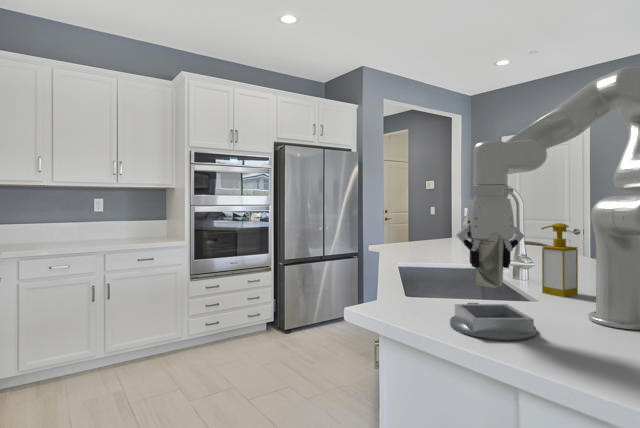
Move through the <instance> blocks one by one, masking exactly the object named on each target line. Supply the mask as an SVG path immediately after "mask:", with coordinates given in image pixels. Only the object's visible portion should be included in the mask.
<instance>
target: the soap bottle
mask: <svg viewBox="0 0 640 428" xmlns="http://www.w3.org/2000/svg"><path fill="white" fill-rule="evenodd" d="M548 228H552V232H556V238H553V239H552V241H553V243H552V245H545V246H542V248H541V255H542V257H541V267H542V268H541V269H542V270H541V271H542V272H541V274H542V275H541V277H542V278H541V280H542V282H541V285H542V287H541V288H542V291H541V292H542V294H546V295H551V296H555V297H556V296H557V297H561V298H569V297H573V296H578V295H579V293H578V292H579V291H578V290H579V289H578V288H579V284H578V282H579V280H578V279H579V278H578V276H579V275H578V274H579V272H578V271H579V270H578V269H579V267H578V266H579V264H578V262H579V260H578V259H579V258H578V255H579V254H578V253H579V252H578V248H579V247H577V246H567V239H566V238H563V233H564V232H567V228H570V226H569V225H568V224H565V223H562V222H556V223H554V224H552V225H546V226H543V227H541V230H544V229H548Z"/></svg>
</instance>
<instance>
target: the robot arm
mask: <svg viewBox="0 0 640 428" xmlns="http://www.w3.org/2000/svg"><path fill="white" fill-rule="evenodd" d="M614 110H617V113H618V115H619V116H620V118H621V119H622V121H623V123H624V125H625V126H626V128H627V131H628V139H627V142H626V145H625V148H624V150H623V152H622V154H621V157H620V159H619V162H618V164H617V167H616V169H615V171H614V174H613V179H612V181H613V185H614V187H615V188H616V189H617V190H618V191H619V192H622V193H626V194H627V195H625V194H624V195H613V196H612V195H611V196H606V197H603V198H601V199H600V200H598V201H597V202H596V203H595V204H594V205H593V207H592V209H591V213H590V221H591V225H592V228H593V233H594V240H595V310H594V311H591V312H589V313H588V319H589V320H590V321H592V322H594V323H595V324H596V323H597V324H598V325H602V326H607V327H611V328H616V329H623V330H632V331H633V330H634V331H636V330H637V331H640V238H639V237H640V65H638V66H637V65H633V66H625V67H622V68H618V69H617V70H615V71H612V72H610V73H607V74H605V75H603V76H600V77H597V78H596V79H594V80H592V81H591V82H589V83H587V84H586V85H584V86H583V87H582V88H581V89H579V91H577V92H575V93H574V94H573V95H572V96H570V97H569V98H568V99H566V100H565V101H563V102H562V103H561V104H560V105H558V106H557V107H555V108H554V109H553V110H551V111H549V112H548V113H547V114H545V115H543V116H541V117H540V118H539V119H537V120H536V121H534V122H533V123H531V124H530V125H528V126H527V127H525V128H523V129H522V130H520V131H519V132H517V133H516V134H515V135H513V136H512V137H510V138H509V139H508V140H506V141H502V140H487V141H481V142H480V141H479V142H478V143H476V144H475V145H474V148H473V198H470V199H469V202H468V206H467V215H466V222H465V223H466V224H465V226H464V227H463V228H462V229H461V230H460V231H459V232H458V233H456V237H457V239H458V240H459V241H460V242H462V244H463V245H464V246H465V248H467V250H469V264H470V265H471V267H473V268H475V269H476V268H478V267H479V252H478V251H477V248H478V246H479V243H480V241H481V240H487V239H489V237H490V234H501V240H503V242H504V255H503V269H509V268H510V265H511V252H512V251H513V250H514V248H515V247H516V246H517V245H518V244H519V243H520V242H521V241H522V240H523V239H524V238H525V234H524V233H523V232H522V231H521V230H519V229H518V228H517V227H516V226H515V222H514V220H515V219H514V218H515V217H514V210H513V205H512V201H511V198H508V197H509V195H512V194H513V193H514V188H510V187H509V185H508V179H509V177H508V176H509V175H512V174H513V175H514V174H520V173H526V172H527V173H528V172H532V171H534V170H537V169H539V168H540V167H542V166H543V165H544V164H545V162H546V160H547V157H548V151H547V150H548V149H551V148H553V147H555V146H558V145H560V144H563V143H566V142H568V141H570V140H572V139H574V138H576V137H578V136H580V135H581V134H582V133H584V132H585V131H587V130H588V129H589V128H590V127H592V126H593V125H594V124H595V123H597V122H598V121H599V120H601V119H602V118H603V117H605V116H606V115H607V114H609V113H610V112H611V111H614ZM468 238H469V239H470V240H469V239H468Z"/></svg>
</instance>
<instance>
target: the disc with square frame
mask: <svg viewBox="0 0 640 428" xmlns="http://www.w3.org/2000/svg"><path fill="white" fill-rule="evenodd" d="M534 323H535V322H534V318H532V317H530V316H529V315H526V314H525V313H523V312H522V311H520V310H518V309H516V308H514V307H513V306H511V305H510V304H508V303H490V304H489V303H485V304H484V303H483V304H482V303H479V302H466V303H464V304H463V303H460V304H459V303H458V304H457V303H455V304H454V316H451V317H450V319H449V326H450V327H451V329H453V330H454V331H456V332H458V333H460V334H463V335H466V336H469V337H473V338H475V339H476V338H477V339H481V340H486V341H496V342H521V341H526V340H530V339H533V338H534V337H536V335H537V327H536V326H535V325H534Z"/></svg>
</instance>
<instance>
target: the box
mask: <svg viewBox="0 0 640 428" xmlns="http://www.w3.org/2000/svg"><path fill="white" fill-rule="evenodd" d="M477 251H478V252H479V267H478V268H475V269H476V270H475V285H477V286H480V287H487V288H494V289H496V288H500V287H502V286H503V283H504V282H503V277H504V267H503V255H504V242H503V240H501V234H490V237H489V239H487V240H481V241H480V243H479V246H478V248H477Z"/></svg>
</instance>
